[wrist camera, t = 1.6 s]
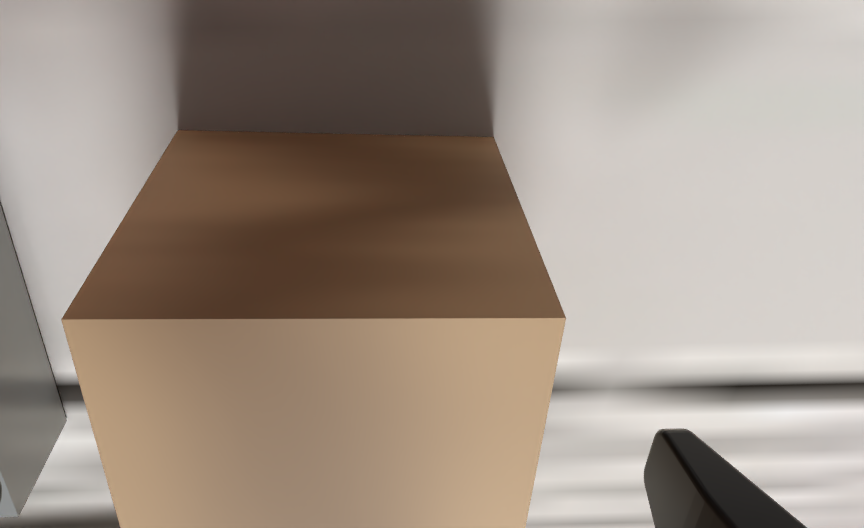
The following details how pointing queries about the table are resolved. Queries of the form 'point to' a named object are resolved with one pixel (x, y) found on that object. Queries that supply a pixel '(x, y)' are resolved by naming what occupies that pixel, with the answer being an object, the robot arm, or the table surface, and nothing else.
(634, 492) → the table surface
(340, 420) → the tan block
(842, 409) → the table surface
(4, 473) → the grey box
